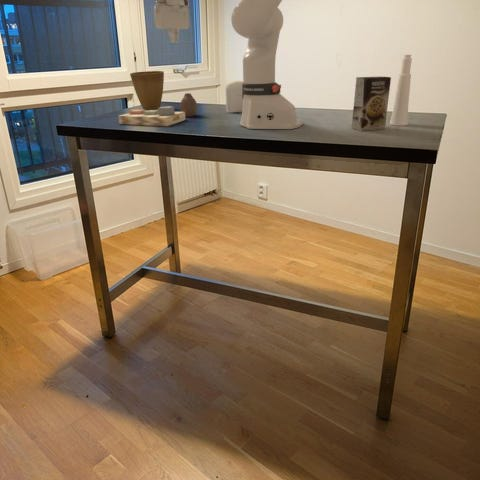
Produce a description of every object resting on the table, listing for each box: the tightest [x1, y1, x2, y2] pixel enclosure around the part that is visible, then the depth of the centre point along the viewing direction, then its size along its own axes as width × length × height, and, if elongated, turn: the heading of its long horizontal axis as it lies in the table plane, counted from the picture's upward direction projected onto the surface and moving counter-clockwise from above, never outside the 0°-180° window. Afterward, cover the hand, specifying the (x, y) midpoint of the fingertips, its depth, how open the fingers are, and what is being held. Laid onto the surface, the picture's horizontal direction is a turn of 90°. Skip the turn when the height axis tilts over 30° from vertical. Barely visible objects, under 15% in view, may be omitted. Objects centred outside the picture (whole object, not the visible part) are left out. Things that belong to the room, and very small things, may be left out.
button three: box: [144, 109, 158, 115], centre depth 164 cm, size 4×4×3 cm
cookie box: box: [351, 76, 392, 132], centre depth 138 cm, size 9×6×16 cm
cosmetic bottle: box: [389, 54, 413, 127], centre depth 142 cm, size 6×6×22 cm
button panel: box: [118, 111, 186, 127], centre depth 164 cm, size 21×14×3 cm, turn 68°
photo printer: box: [225, 80, 243, 114], centre depth 179 cm, size 10×4×12 cm, turn 109°
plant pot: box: [129, 70, 165, 111], centre depth 193 cm, size 15×15×16 cm
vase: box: [180, 92, 198, 118], centre depth 174 cm, size 7×7×9 cm
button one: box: [129, 109, 147, 115], centre depth 166 cm, size 4×4×3 cm
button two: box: [157, 105, 176, 116], centre depth 161 cm, size 4×4×3 cm
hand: (174, 42), depth 160 cm, fingers closed
